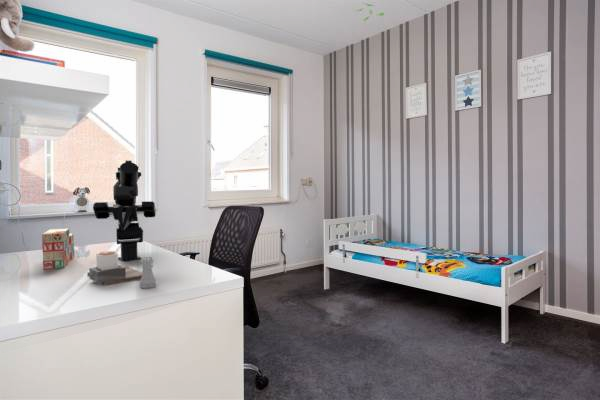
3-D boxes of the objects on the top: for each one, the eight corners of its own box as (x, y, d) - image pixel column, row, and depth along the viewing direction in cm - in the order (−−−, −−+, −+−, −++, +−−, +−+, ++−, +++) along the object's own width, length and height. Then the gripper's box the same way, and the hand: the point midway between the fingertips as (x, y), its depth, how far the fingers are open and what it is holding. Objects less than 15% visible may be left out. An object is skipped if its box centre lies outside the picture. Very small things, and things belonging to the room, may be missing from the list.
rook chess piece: (145, 289, 103) (144, 260, 103) (135, 287, 106) (134, 258, 105) (159, 285, 107) (159, 257, 106) (150, 283, 109) (149, 255, 109)
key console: (81, 276, 117) (80, 263, 117) (127, 269, 127) (126, 257, 127) (98, 286, 106) (98, 272, 106) (147, 277, 116) (147, 264, 115)
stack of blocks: (56, 258, 147) (54, 226, 146) (74, 256, 150) (73, 225, 149) (43, 270, 127) (41, 233, 127) (64, 268, 130) (63, 232, 129)
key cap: (96, 268, 111) (96, 252, 111) (112, 265, 114) (112, 250, 114) (101, 270, 108) (101, 254, 108) (118, 268, 111) (117, 252, 111)
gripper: (93, 177, 126) (84, 214, 116) (153, 177, 131) (150, 212, 120) (100, 200, 134) (92, 236, 124) (156, 199, 139) (154, 234, 128)
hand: (122, 229), depth 124 cm, fingers closed
